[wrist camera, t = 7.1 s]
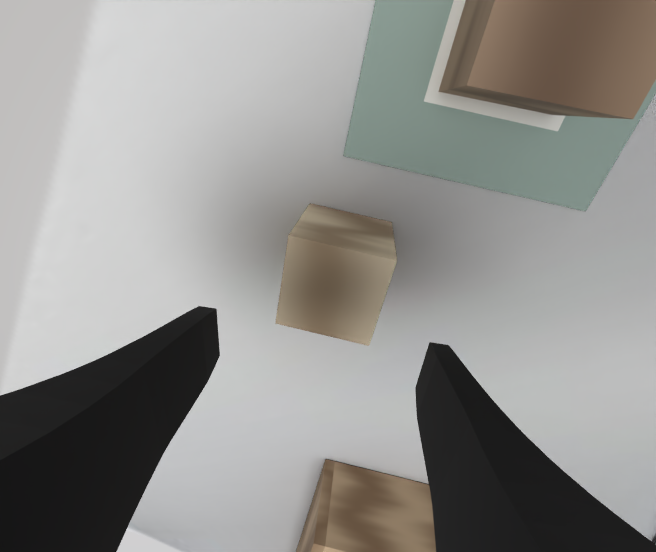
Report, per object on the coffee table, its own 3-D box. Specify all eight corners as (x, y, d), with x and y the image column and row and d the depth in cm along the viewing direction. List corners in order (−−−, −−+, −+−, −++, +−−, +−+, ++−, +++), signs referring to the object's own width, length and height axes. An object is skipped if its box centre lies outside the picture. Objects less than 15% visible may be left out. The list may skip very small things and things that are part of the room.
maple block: (391, 221, 18) (397, 260, 13) (370, 292, 20) (369, 345, 15) (309, 203, 18) (288, 235, 13) (297, 274, 20) (275, 323, 15)
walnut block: (623, -38, 12) (770, -124, 7) (552, 115, 14) (633, 119, 10) (484, -64, 12) (549, -164, 8) (438, 91, 14) (466, 85, 10)
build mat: (797, -155, 10) (808, -161, 10) (583, 210, 16) (586, 212, 16) (423, -230, 11) (425, -239, 10) (343, 155, 16) (342, 156, 16)
